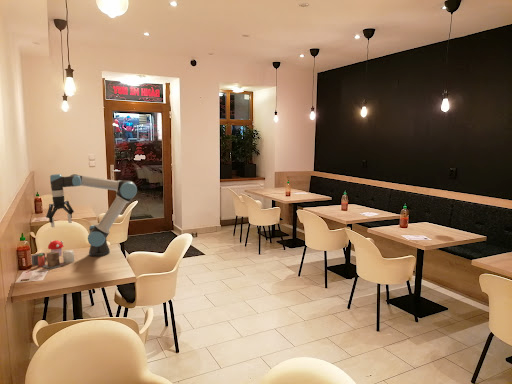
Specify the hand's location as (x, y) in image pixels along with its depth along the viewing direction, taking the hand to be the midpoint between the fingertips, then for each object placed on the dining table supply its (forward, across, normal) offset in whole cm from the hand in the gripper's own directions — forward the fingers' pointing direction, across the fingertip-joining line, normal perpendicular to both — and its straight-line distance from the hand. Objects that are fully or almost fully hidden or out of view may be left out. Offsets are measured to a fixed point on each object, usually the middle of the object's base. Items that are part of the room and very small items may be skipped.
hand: (61, 224), depth 277 cm
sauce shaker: (+27, +13, -8) cm, 32 cm away
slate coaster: (+28, +10, 0) cm, 29 cm away
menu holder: (+27, +11, -15) cm, 33 cm away
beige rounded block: (+28, -1, +1) cm, 28 cm away
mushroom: (+28, -7, -22) cm, 36 cm away
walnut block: (+27, +10, 0) cm, 29 cm away
